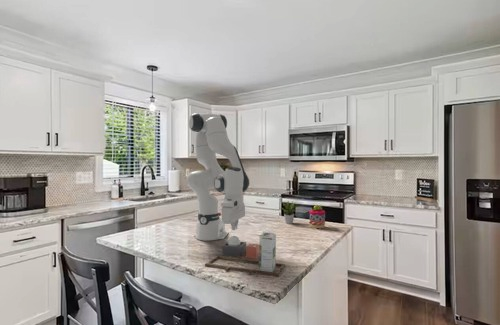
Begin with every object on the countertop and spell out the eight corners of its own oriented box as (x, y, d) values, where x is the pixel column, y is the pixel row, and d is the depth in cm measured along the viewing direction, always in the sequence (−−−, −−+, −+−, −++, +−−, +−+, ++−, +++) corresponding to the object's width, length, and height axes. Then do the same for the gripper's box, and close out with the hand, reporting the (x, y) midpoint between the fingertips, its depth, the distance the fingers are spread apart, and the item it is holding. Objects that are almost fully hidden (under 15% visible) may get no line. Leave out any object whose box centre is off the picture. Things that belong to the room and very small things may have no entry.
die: (249, 253, 135) (249, 242, 135) (259, 255, 133) (259, 243, 133) (246, 257, 130) (246, 245, 130) (256, 258, 128) (256, 246, 128)
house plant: (293, 226, 190) (293, 202, 190) (275, 224, 197) (275, 200, 197) (302, 222, 202) (302, 200, 202) (284, 220, 209) (284, 198, 209)
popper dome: (231, 243, 140) (231, 233, 140) (242, 245, 138) (242, 234, 138) (225, 247, 134) (225, 236, 134) (237, 248, 132) (237, 238, 132)
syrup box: (262, 266, 119) (262, 232, 119) (276, 267, 117) (276, 233, 117) (258, 271, 114) (258, 235, 114) (273, 273, 112) (273, 236, 112)
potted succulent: (306, 226, 191) (306, 204, 191) (318, 224, 196) (318, 203, 196) (315, 229, 182) (315, 206, 182) (328, 228, 186) (328, 205, 186)
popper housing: (229, 249, 142) (229, 240, 142) (246, 251, 139) (246, 242, 139) (221, 254, 133) (221, 245, 133) (239, 257, 130) (239, 247, 130)
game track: (218, 256, 132) (218, 254, 132) (286, 264, 120) (286, 262, 120) (202, 267, 118) (202, 265, 118) (277, 278, 106) (277, 276, 106)
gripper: (236, 198, 146) (236, 224, 146) (219, 203, 127) (219, 233, 127) (248, 198, 144) (248, 225, 144) (231, 203, 125) (232, 235, 125)
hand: (234, 229), depth 136 cm, fingers closed
